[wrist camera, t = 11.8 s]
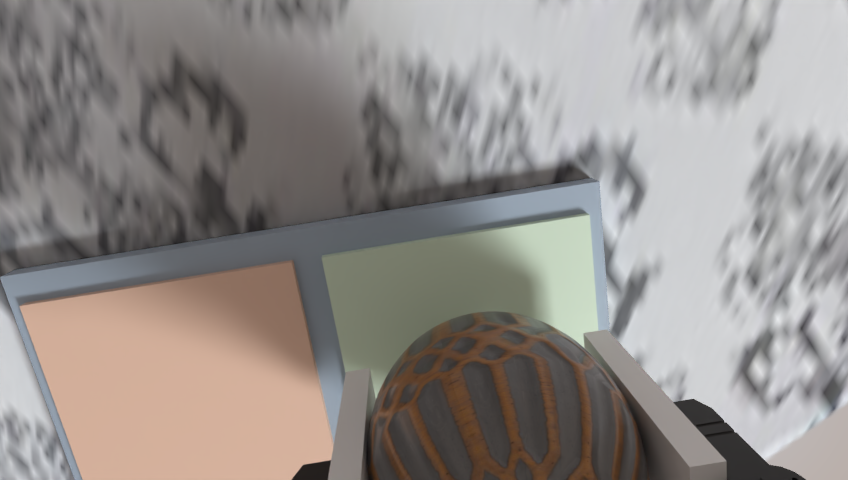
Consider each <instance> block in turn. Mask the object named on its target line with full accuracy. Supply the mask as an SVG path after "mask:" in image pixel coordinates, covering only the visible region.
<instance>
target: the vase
mask: <svg viewBox="0 0 848 480" xmlns="http://www.w3.org/2000/svg"><path fill="white" fill-rule="evenodd" d="M367 469H368V480H650V479H649V472H648V465H647V459H646V455H645V450H644V446H643V442H642V438H641V435H640V432H639V429H638V426H637V423H636V421H635V418H634V416H633V414H632V412H631V410H630V407H629V405H628V403H627V401H626V399H625V398H624V396H623V394H622V393H621V391H620V390H619V388H618V387H617V385H616V384H615V382H614V381H613V379H612V378H611V376H610V375H609V374H608V373H607V372H606V371H605V369H604V368H603V367H602V366H601V365H600V363H599V362H598V361H597V360H596V359H595V358H594V357H593V356H592V355H591V354H590V353H589V352H588V351H587V350H586V349H585V348H584V347H583V346H581V345H580V344H579V343H578V342H577V341H575V340H574V339H573V338H571V337H570V336H568V335H567V334H565V333H563V332H562V331H560V330H558V329H556V328H555V327H553V326H551V325H549V324H547V323H545V322H542V321H539V320H537V319H534V318H530V317H527V316H524V315H520V314H515V313H509V312H498V311H487V312H477V313H471V314H466V315H462V316H459V317H456V318H453V319H450V320H448V321H445V322H443V323H441V324H439V325H437V326H435V327H433V328H432V329H430V330H429V331H427V332H426V333H424V334H423V335H421V336H420V337H419V338H418V339H416V340H415V341H414V342H413V343H412V344H411V345H410V346H409V347H408V348H407V349H406V350H405V351H404V352H403V354H402V355H401V356H400V357H399V358H398V360H397V361H396V362H395V364H394V365H393V367H392V368H391V370H390V371H389V373H388V375H387V377H386V378H385V380H384V382H383V384H382V386H381V388H380V391H379V393H378V395H377V398H376V401H375V404H374V408H373V412H372V416H371V421H370V426H369V433H368V441H367Z"/></svg>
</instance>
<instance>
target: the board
mask: <svg viewBox="0 0 848 480" xmlns="http://www.w3.org/2000/svg"><path fill="white" fill-rule="evenodd" d="M0 279H1V282H2V285H3V287H4V290H5V293H6V296H7V298H8V301H9V304H10V306H11V309H12V312H13V314H14V317H15V320H16V323H17V325H18V328H19V331H20V333H21V336H22V339H23V342H24V344H25V347H26V350H27V352H28V355H29V358H30V360H31V363H32V366H33V369H34V371H35V374H36V377H37V379H38V382H39V385H40V387H41V390H42V393H43V396H44V398H45V401H46V404H47V406H48V409H49V412H50V415H51V417H52V420H53V423H54V425H55V428H56V431H57V433H58V436H59V439H60V442H61V444H62V447H63V450H64V452H65V455H66V458H67V460H68V463H69V466H70V469H71V471H72V474H73V477H74V479H75V480H292V478H293V477H294V476H295V474H296V473H297V472H298V471H299V469H300V468H301V467H302V465H305V464H311V463H317V462H323V461H329V460H331V458H332V452H333V446H334V440H335V434H336V428H337V422H338V416H339V410H340V404H341V398H342V392H343V386H344V380H345V374H346V372H348V371H354V370H360V369H367V368H370V372H371V377H372V382H373V387H374V392H375V398H377V395H378V393H379V391H380V388H381V386H382V384H383V382H384V380H385V378H386V377H387V375H388V373H389V371H390V370H391V368H392V367H393V365H394V364H395V362H396V361H397V360H398V358H399V357H400V356H401V355H402V354H403V352H404V351H405V350H406V349H407V348H408V347H409V346H410V345H411V344H412V343H413V342H414V341H415V340H416V339H418V338H419V337H420V336H421V335H423V334H424V333H426V332H427V331H429V330H430V329H432V328H433V327H435V326H437V325H439V324H441V323H443V322H445V321H448V320H450V319H453V318H456V317H459V316H462V315H466V314H471V313H477V312H487V311H498V312H509V313H515V314H520V315H524V316H527V317H530V318H534V319H537V320H539V321H542V322H545V323H547V324H549V325H551V326H553V327H555V328H556V329H558V330H560V331H562V332H563V333H565V334H567V335H568V336H570V337H571V338H573V339H574V340H575V341H577V342H578V343H579V344H580V345H581V346H583V347H584V336H583V333H587V332H593V331H600V330H606V329H607V330H608V331H609V332H610V329H609V315H608V300H607V285H606V271H605V256H604V242H603V227H602V213H601V198H600V184H599V181H597V180H595V179H592V178H588V179H582V180H575V181H569V182H563V183H556V184H550V185H544V186H538V187H531V188H525V189H519V190H512V191H506V192H500V193H494V194H487V195H481V196H475V197H468V198H462V199H456V200H450V201H443V202H437V203H431V204H424V205H418V206H412V207H405V208H399V209H393V210H387V211H380V212H374V213H368V214H361V215H355V216H349V217H343V218H336V219H330V220H324V221H317V222H311V223H305V224H299V225H292V226H286V227H280V228H273V229H267V230H261V231H255V232H248V233H242V234H236V235H229V236H223V237H217V238H211V239H204V240H198V241H192V242H185V243H179V244H173V245H167V246H160V247H154V248H148V249H141V250H135V251H129V252H123V253H116V254H110V255H104V256H97V257H91V258H85V259H79V260H72V261H66V262H60V263H53V264H47V265H41V266H35V267H28V268H22V269H16V270H13V271H11V272H9V273H7V274H5V275H3V276H1V277H0Z"/></svg>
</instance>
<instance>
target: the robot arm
mask: <svg viewBox="0 0 848 480" xmlns="http://www.w3.org/2000/svg"><path fill="white" fill-rule="evenodd" d="M583 336H584V348H585V349H586V350H587V351H588V352H589V353H590V354H591V355H592V356H593V357H594V358H595V359H596V360H597V361H598V362H599V363H600V365H601V366H602V367H603V368H604V369H605V371H606V372H607V373H608V374H609V375H610V376H611V378H612V379H613V381H614V382H615V384H616V385H617V387H618V388H619V390H620V391H621V393H622V394H623V396H624V398H625V399H626V401H627V403H628V405H629V407H630V410H631V412H632V414H633V416H634V418H635V421H636V423H637V426H638V429H639V432H640V435H641V438H642V442H643V446H644V450H645V455H646V459H647V465H648V472H649V479H650V480H805V479H804V478H803V477H801V476H799V475H798V474H797V473H795V472H793V471H791V470H788V469H785V468H783V467H779V466H773V465H769V464H768V463H767V462H766V461H765V460H764V459H763V458H762V457H761V456H760V455H759V454H758V453H756V452H755V451H754V450H753V449H752V448H751V447H750V446H749V445H748V444H747V443H746V442H745V441H744V440H743V439H742V438H741V437H740V436H739V435H738V434H737V433H735V432H734V430H733V429H732V428H731V427H730V426H729V425H728V424H727V423H724V420H723V419H722V418H721V417H720V416H719V415H718V414H717V413H716V412H715V411H714V410H713V409H712V408H710V407H708V406H706V405H704V404H702V403H700V402H698V401H696V400H694V399H690V400H684V401H678V402H672V400H671V399H670V398H669V397H668V396H667V395H666V394H665V393H664V392H663V391H662V389H661V388H660V387H659V386H658V385H657V384H656V383H655V382H654V381H653V380H652V378H651V377H650V376H649V375H648V374H647V373H646V372H645V371H644V370H643V369H642V367H641V366H640V365H639V364H638V363H637V362H636V361H635V360H634V359H633V358H632V356H631V355H630V354H629V353H628V352H627V351H626V350H625V349H624V348H623V347H622V345H621V344H620V343H619V342H618V341H617V340H616V339H615V338H614V337H613V336H612V334H611V333H610V332H609V331H608V330H607V329H606V330H600V331H593V332H587V333H583ZM375 401H376V398H375V392H374V387H373V382H372V377H371V372H370V368H367V369H360V370H354V371H348V372H346V374H345V380H344V386H343V392H342V398H341V404H340V410H339V416H338V422H337V428H336V434H335V440H334V446H333V452H332V458H331V460H329V461H323V462H317V463H311V464H305V465H302V467H301V468H300V469H299V471H298V472H297V473H296V474H295V476H294V477H293V478H292V480H368V469H367V441H368V433H369V426H370V421H371V416H372V412H373V408H374V404H375Z"/></svg>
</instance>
